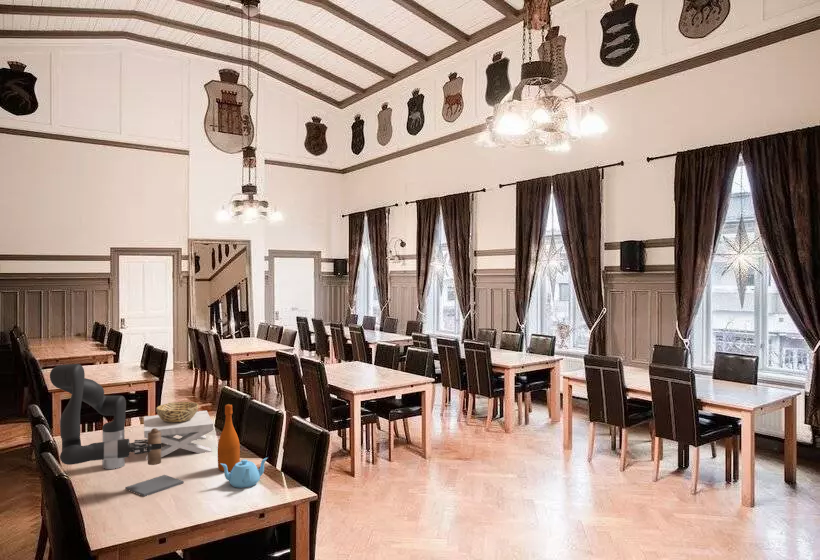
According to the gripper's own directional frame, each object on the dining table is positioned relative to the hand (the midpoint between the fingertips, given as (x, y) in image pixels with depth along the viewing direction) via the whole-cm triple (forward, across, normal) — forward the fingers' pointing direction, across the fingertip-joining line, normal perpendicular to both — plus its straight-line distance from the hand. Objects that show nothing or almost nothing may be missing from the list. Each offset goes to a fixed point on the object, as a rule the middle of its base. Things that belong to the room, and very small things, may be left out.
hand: (160, 444), depth 246 cm
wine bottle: (+29, +9, +18) cm, 35 cm away
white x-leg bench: (+10, +56, +18) cm, 60 cm away
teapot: (+33, -14, +18) cm, 40 cm away
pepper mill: (-3, 0, +8) cm, 8 cm away
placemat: (-2, 0, +18) cm, 18 cm away
